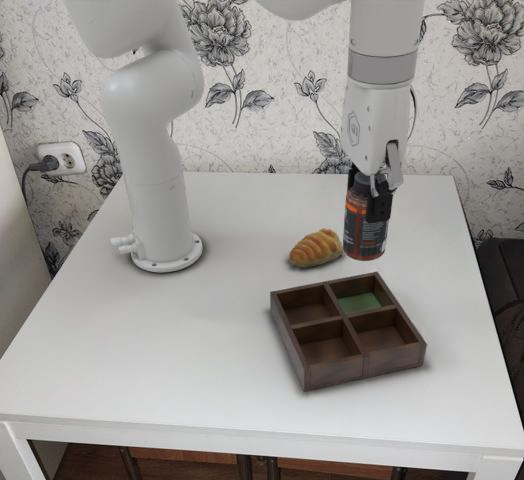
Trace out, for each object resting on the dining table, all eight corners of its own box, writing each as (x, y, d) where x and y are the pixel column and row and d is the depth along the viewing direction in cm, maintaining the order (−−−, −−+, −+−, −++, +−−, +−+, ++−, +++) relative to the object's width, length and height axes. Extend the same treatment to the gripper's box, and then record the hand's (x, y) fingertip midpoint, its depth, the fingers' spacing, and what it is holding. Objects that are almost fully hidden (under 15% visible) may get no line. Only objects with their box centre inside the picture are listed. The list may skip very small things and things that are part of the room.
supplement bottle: (394, 253, 82) (404, 178, 74) (361, 268, 80) (368, 193, 72) (365, 234, 86) (372, 161, 78) (333, 248, 83) (337, 174, 76)
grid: (304, 391, 80) (304, 370, 77) (270, 312, 92) (269, 291, 89) (422, 365, 83) (427, 344, 80) (374, 291, 95) (377, 271, 92)
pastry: (305, 276, 98) (306, 257, 96) (279, 259, 102) (279, 240, 100) (346, 254, 103) (347, 235, 100) (319, 239, 106) (320, 220, 104)
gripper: (324, 45, 71) (320, 182, 84) (380, 96, 59) (365, 248, 71) (382, 37, 72) (369, 174, 85) (449, 86, 60) (422, 237, 73)
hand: (367, 206), depth 78 cm, fingers closed on supplement bottle, 6 cm apart
